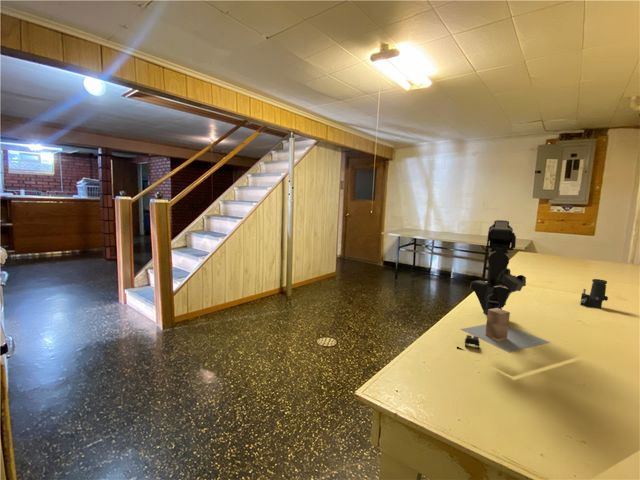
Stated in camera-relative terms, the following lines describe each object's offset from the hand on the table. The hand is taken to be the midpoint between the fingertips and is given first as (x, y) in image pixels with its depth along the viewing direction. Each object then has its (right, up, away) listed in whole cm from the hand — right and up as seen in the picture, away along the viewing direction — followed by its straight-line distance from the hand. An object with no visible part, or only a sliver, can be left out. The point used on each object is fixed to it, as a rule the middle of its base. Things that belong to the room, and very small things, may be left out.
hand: (493, 308), depth 109 cm
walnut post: (+5, -12, +6) cm, 14 cm away
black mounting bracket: (-9, -14, -2) cm, 16 cm away
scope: (+78, -10, +49) cm, 92 cm away
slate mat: (+8, -13, +8) cm, 17 cm away
